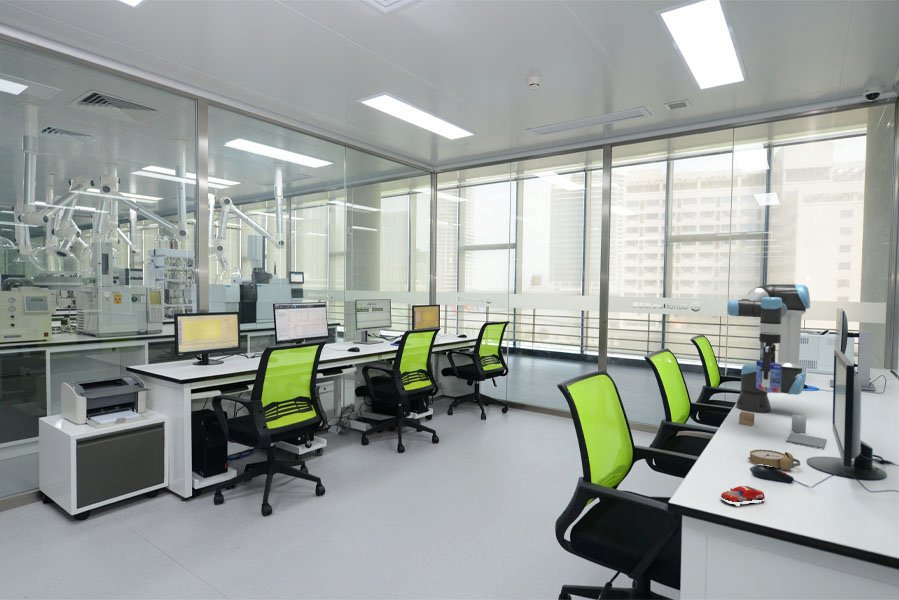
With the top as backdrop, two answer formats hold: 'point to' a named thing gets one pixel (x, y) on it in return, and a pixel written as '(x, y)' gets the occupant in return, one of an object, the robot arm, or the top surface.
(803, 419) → the slate cylinder
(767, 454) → the alarm clock
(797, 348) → the robot arm
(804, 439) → the charcoal mat
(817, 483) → the top surface
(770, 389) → the ink cartridge box
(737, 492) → the race car
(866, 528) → the top surface
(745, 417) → the walnut cube
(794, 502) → the top surface
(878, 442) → the top surface
